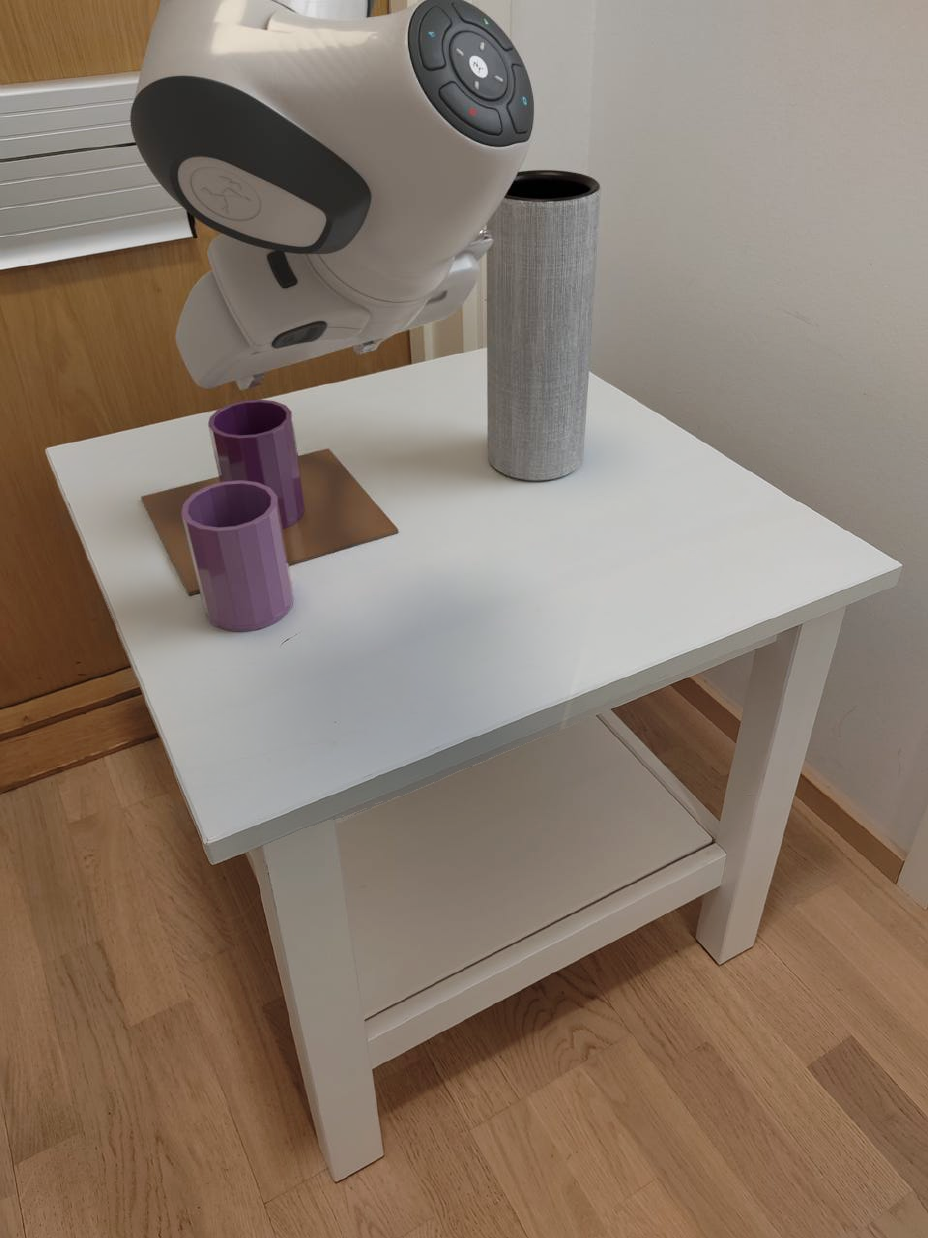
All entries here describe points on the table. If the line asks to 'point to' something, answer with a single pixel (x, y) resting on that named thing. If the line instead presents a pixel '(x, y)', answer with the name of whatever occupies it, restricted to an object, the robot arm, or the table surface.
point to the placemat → (326, 526)
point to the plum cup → (260, 451)
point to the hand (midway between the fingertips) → (304, 360)
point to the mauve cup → (239, 554)
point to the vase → (540, 322)
